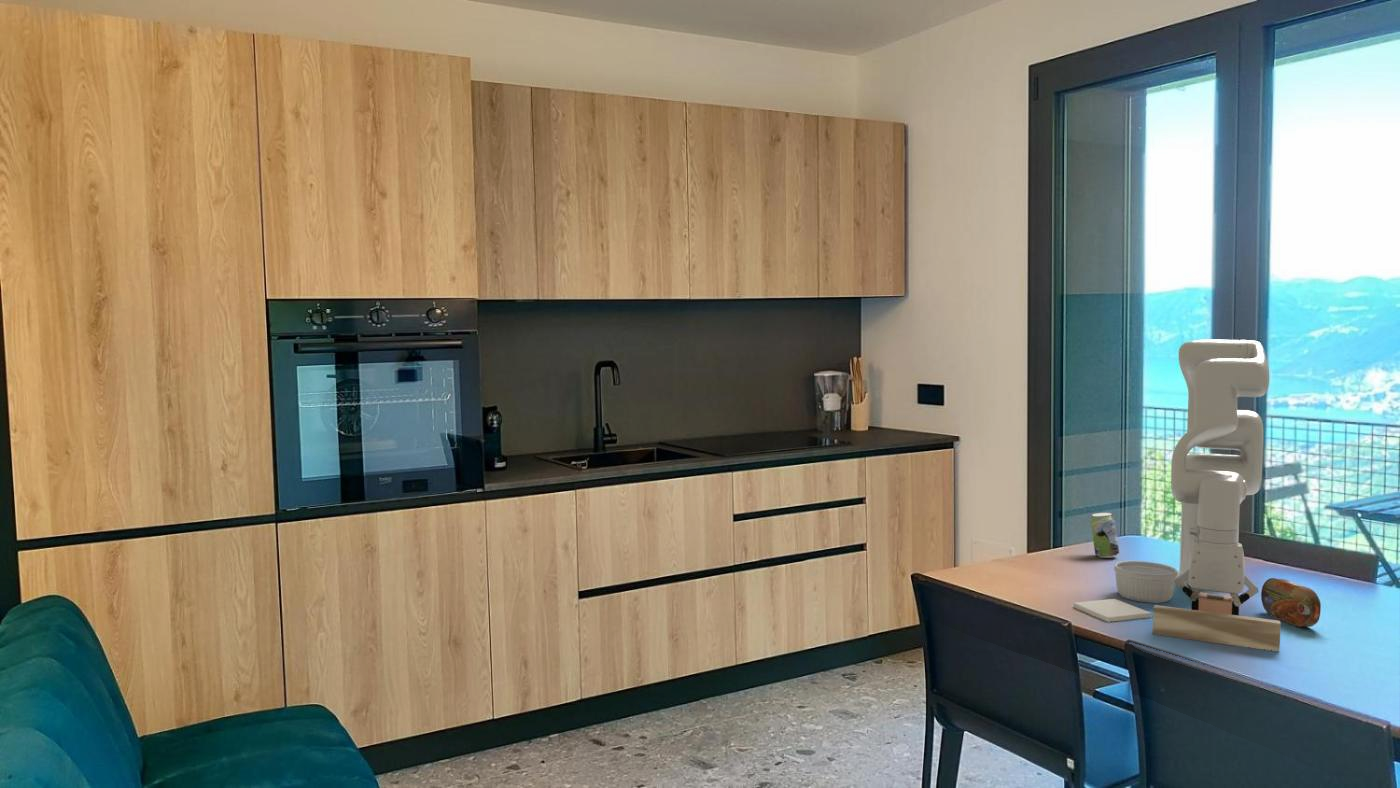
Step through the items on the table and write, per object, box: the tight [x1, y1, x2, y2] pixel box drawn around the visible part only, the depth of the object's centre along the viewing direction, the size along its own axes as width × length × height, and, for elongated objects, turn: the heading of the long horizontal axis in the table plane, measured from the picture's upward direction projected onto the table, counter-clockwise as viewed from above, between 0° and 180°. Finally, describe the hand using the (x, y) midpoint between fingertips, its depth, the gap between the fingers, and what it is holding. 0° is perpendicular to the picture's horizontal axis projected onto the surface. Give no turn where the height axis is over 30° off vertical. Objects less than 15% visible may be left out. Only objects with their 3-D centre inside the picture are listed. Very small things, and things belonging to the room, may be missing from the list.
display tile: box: [1073, 598, 1152, 623], centre depth 207 cm, size 11×11×1 cm
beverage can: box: [1090, 512, 1120, 559], centre depth 256 cm, size 6×7×12 cm
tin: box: [1260, 577, 1322, 628], centre depth 201 cm, size 15×3×8 cm, turn 5°
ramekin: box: [1113, 560, 1178, 604], centre depth 219 cm, size 13×13×7 cm
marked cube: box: [1198, 591, 1233, 615], centre depth 198 cm, size 6×6×6 cm
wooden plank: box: [1152, 604, 1282, 652], centre depth 188 cm, size 2×22×6 cm, turn 62°
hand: (1214, 620), depth 198 cm, fingers closed on marked cube, 6 cm apart
